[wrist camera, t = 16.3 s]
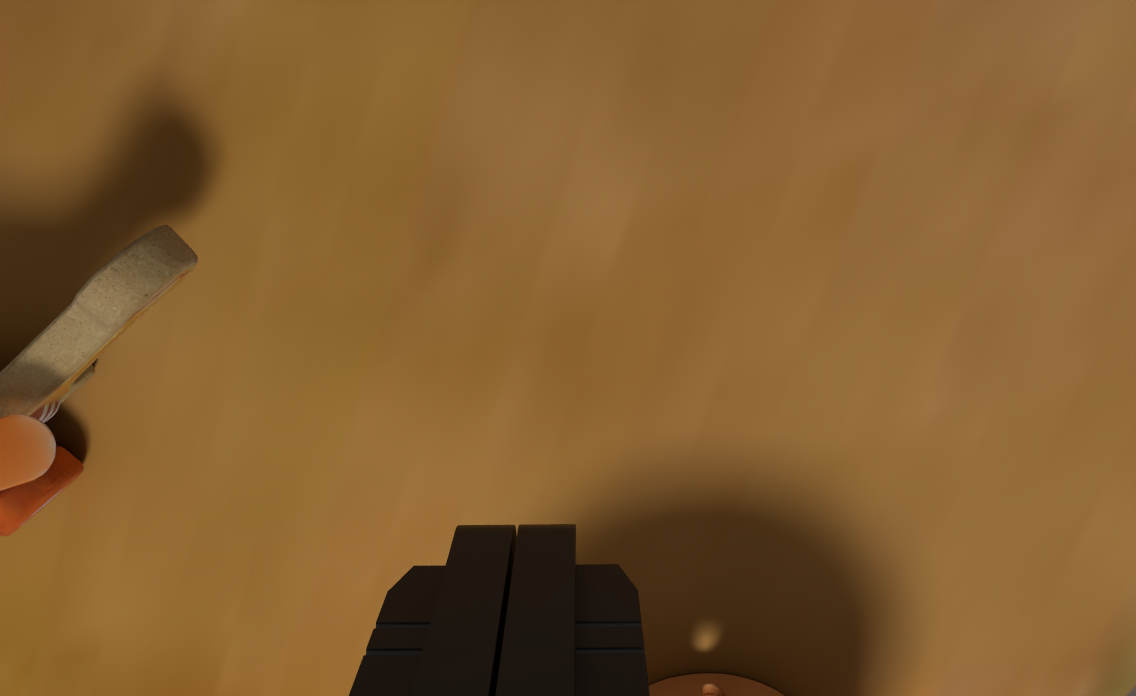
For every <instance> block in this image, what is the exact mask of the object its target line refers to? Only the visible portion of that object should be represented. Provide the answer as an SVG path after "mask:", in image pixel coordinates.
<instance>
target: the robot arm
mask: <svg viewBox="0 0 1136 696" xmlns="http://www.w3.org/2000/svg"><path fill="white" fill-rule="evenodd" d="M349 696H650V695H649V686H648V677H647V668H646V659H645V654H644V641H643V633H642V627H641V615H640V606H639V597H638V590H637V589H636V587H635V586H634V585H633V583H632V582H631V581H630V580H629V578H628V577H627V576H626V574H625V573H624V572H623V570H622V569H621V568H620V567H619V565H618V564H609V565H576V525H575V524H548V525H519V527H518V533H517V534H516V527H515V525H458V526H457V528H456V530H455V534H454V537H453V541H452V545H451V548H450V552H449V556H448V559H447V563H446V566H413V567H412V568H411V569H410V570H409V571H408V572H407V573H406V574H405V575H404V576H403V577H402V578H401V579H400V580H399V581H398V582H397V583H396V584H395V585H394V586H393V587H392V588H391V589H390V590H389V591H388V592H387V595H386V597H385V600H384V603H383V605H382V608H381V611H380V613H379V616H378V619H377V621H376V629H374V630H373V632H372V635H371V638H370V640H369V643H368V646H367V648H366V655H364V656H363V659H362V662H361V664H360V667H359V670H358V673H357V675H356V678H355V681H354V683H353V686H352V689H351V691H350V694H349Z"/></svg>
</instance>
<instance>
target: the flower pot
mask: <svg viewBox="0 0 1136 696" xmlns="http://www.w3.org/2000/svg"><path fill="white" fill-rule="evenodd" d="M649 695H650V696H785V695H783V694H781V693H780V692H778V691H776V690H775V689H773V688H771V687H769V686H766V685H764V684H762V683H759V682H756V681H753V680H750V679H747V678H743V677H739V676H734V675H728V674H717V673H700V674H689V675H683V676H677V677H672V678H668V679H665V680H662V681H659V682H656V683H653V684H651V685H649Z"/></svg>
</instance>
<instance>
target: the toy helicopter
mask: <svg viewBox="0 0 1136 696" xmlns="http://www.w3.org/2000/svg"><path fill="white" fill-rule="evenodd" d="M197 261H198V258H197V255H196V254H195V252H194V251H193V250H192V249H191V248H190V247H189V246H188V245H187V244H186V243H185V242H184V241H183V240H182V238H181V237H180V236H179V235H178V234H177V233H176V232H175V231H174V230H173V229H172V228H171V227H169V226H167V225H163V226H159V227H157V228H154V229H152V230H151V231H149V232H147V233H146V234H144V235H143V236H141V237H140V238H138V239H137V240H135V241H134V242H133V243H131V244H130V245H128V246H127V247H126V248H124V249H123V250H122V251H121V252H120V253H118V254H117V255H116V256H115V257H113V258H112V259H111V260H110V261H109V262H107V263H106V264H105V265H104V266H103V267H102V268H100V269H99V270H98V271H97V272H96V273H95V274H94V275H93V276H92V277H91V278H90V279H89V280H88V281H87V282H86V283H85V284H84V285H83V287H82V288H81V289H80V290H79V291H78V293H77V294H76V296H75V298H74V300H73V301H72V303H71V304H70V305H69V306H68V307H67V308H66V309H65V310H64V311H63V312H61V313H60V314H59V315H58V316H57V317H56V318H55V319H54V320H53V321H52V322H51V323H50V324H49V325H48V326H47V327H46V328H45V329H44V330H43V331H42V332H41V333H40V334H39V335H38V336H37V337H36V338H35V339H34V340H33V341H32V342H31V343H30V344H29V345H28V346H27V347H26V348H25V349H24V350H23V351H22V352H21V353H20V354H19V355H18V356H17V357H16V358H15V359H14V360H13V361H12V362H11V363H9V364H8V365H7V366H6V367H5V368H4V369H3V370H2V371H1V372H0V535H1V536H9V535H11V534H12V533H13V532H15V531H16V530H17V529H18V528H20V527H21V526H22V525H23V524H24V523H26V522H27V521H28V520H29V519H30V518H31V517H33V516H34V515H35V514H36V513H37V512H38V511H40V510H41V509H42V508H43V507H44V506H45V505H47V504H48V503H49V502H50V501H51V500H52V499H54V498H55V497H56V496H57V495H58V494H59V493H60V492H61V491H63V490H64V489H65V488H66V487H67V486H68V485H69V484H70V483H71V482H73V481H74V480H75V479H76V478H77V477H78V476H79V475H80V474H81V473H82V472H83V469H84V467H83V465H82V463H81V462H80V461H79V460H78V459H77V458H75V457H74V456H73V455H72V454H71V453H69V452H68V451H67V450H66V449H65V448H63V447H61V446H57V447H56V442H55V438H54V435H53V433H52V432H51V430H50V429H49V428H48V427H47V425H46V424H45V423H44V422H46V421H47V420H49V419H50V418H51V417H52V416H53V415H55V413H56V412H57V411H58V408H59V406H60V404H61V403H62V402H64V401H65V400H66V399H67V398H68V397H69V396H70V395H71V394H72V393H74V392H75V391H76V390H77V389H78V388H80V387H81V386H82V385H83V384H84V383H85V382H86V381H87V380H88V379H89V378H90V377H91V376H92V375H93V374H94V372H95V369H94V367H93V365H92V363H93V362H94V361H95V360H96V359H97V358H98V357H99V356H100V355H101V354H102V353H103V352H104V351H105V350H106V349H107V348H108V347H109V346H110V345H111V344H113V343H114V342H115V341H116V340H117V339H118V338H119V337H120V336H121V335H122V334H123V333H124V332H125V331H126V330H127V329H128V328H129V327H130V326H131V325H132V324H133V323H135V322H136V321H137V320H138V319H139V318H140V317H141V316H142V315H144V314H145V313H146V312H147V311H148V310H149V309H151V308H152V307H153V306H154V305H155V304H157V303H158V302H159V301H160V300H161V299H163V298H164V297H165V296H166V295H167V294H168V293H169V292H171V291H172V290H173V289H174V288H175V287H176V286H177V285H178V284H179V283H180V282H181V281H182V280H183V279H184V278H185V277H186V276H187V275H188V274H189V273H190V272H191V271H192V269H193V268H194V267H195V265H196V264H197Z"/></svg>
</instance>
